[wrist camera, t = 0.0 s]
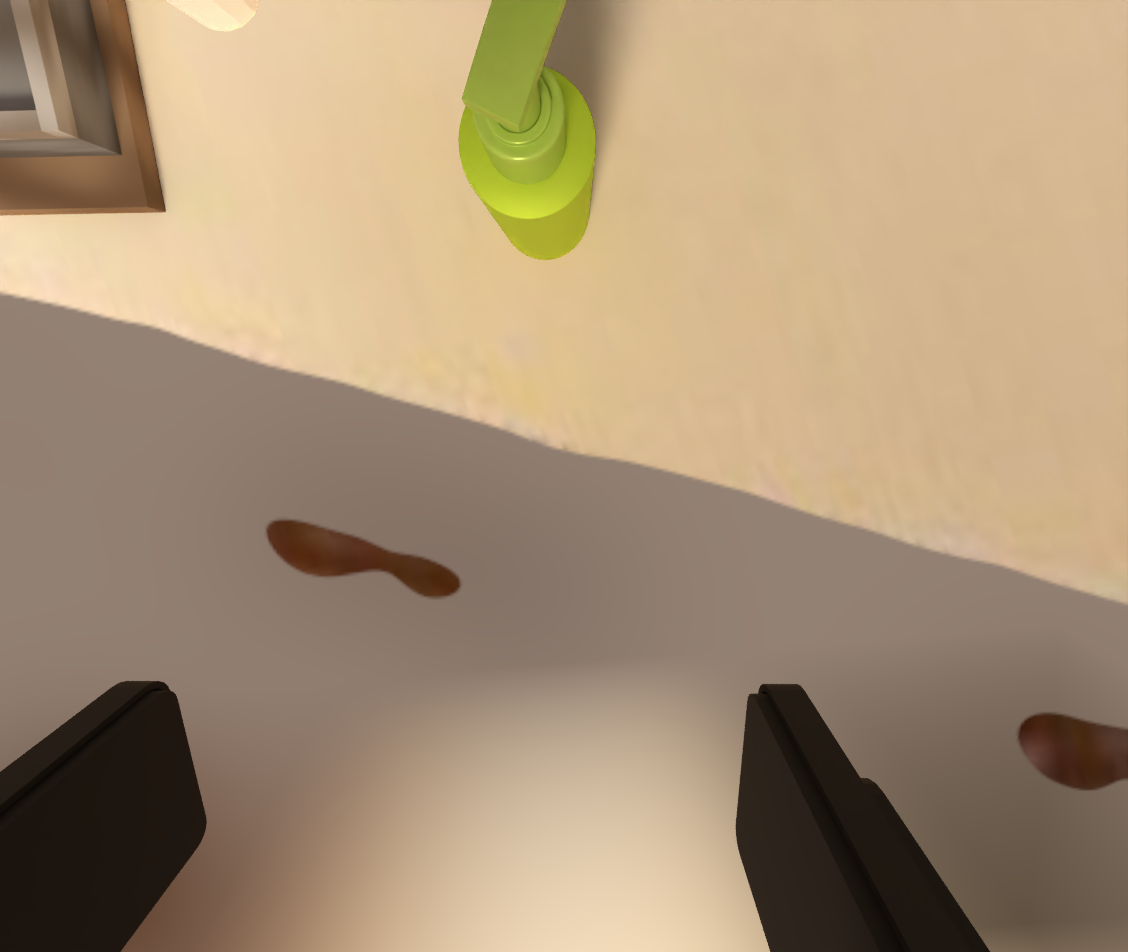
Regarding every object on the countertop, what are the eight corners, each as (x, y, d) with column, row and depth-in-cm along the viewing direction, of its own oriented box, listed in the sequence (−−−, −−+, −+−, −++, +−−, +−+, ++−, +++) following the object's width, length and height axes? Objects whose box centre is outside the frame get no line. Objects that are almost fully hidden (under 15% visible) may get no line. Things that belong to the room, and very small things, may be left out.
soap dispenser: (610, 171, 34) (653, -43, 15) (567, 274, 36) (556, 204, 17) (527, 130, 34) (460, -145, 14) (488, 237, 35) (381, 120, 16)
